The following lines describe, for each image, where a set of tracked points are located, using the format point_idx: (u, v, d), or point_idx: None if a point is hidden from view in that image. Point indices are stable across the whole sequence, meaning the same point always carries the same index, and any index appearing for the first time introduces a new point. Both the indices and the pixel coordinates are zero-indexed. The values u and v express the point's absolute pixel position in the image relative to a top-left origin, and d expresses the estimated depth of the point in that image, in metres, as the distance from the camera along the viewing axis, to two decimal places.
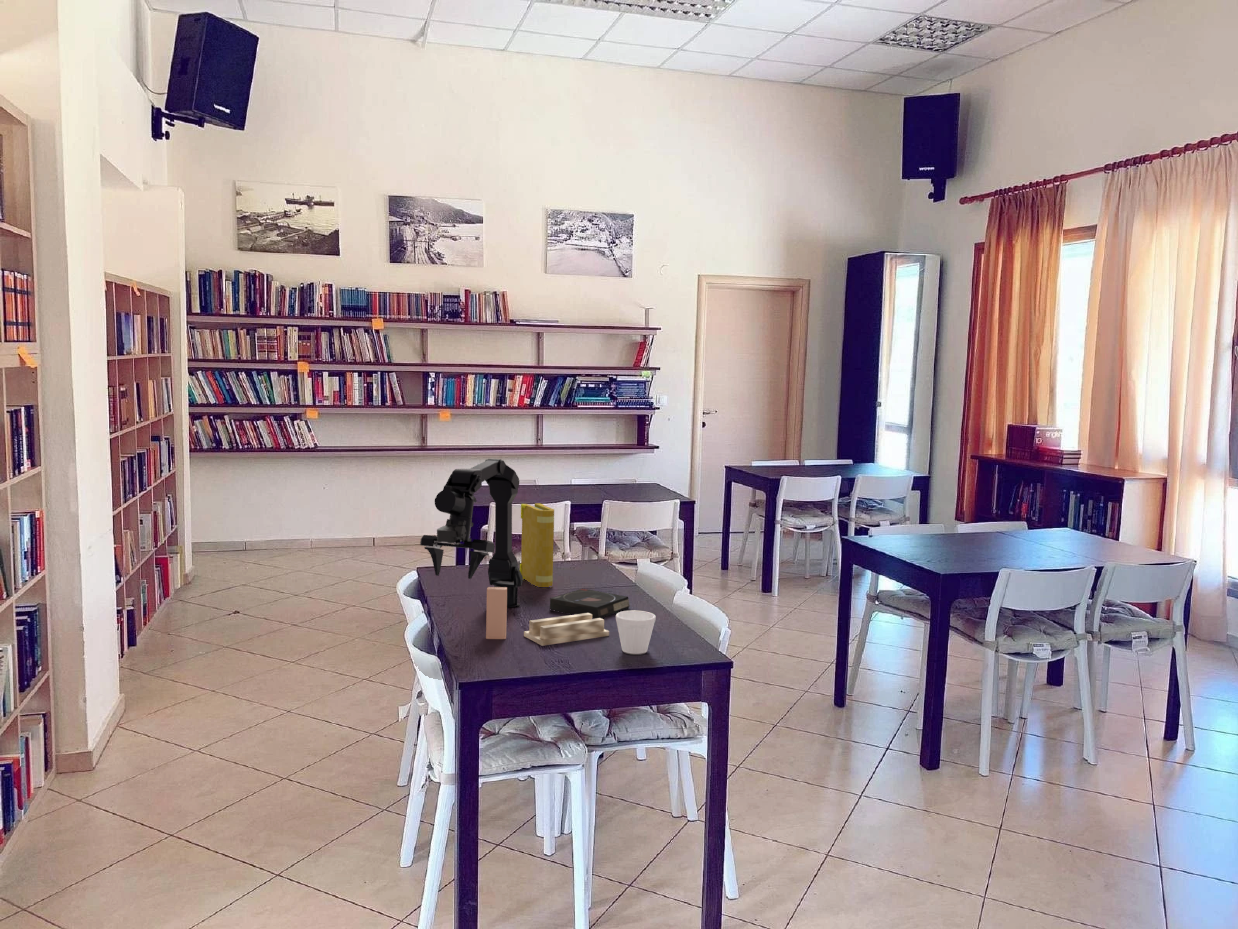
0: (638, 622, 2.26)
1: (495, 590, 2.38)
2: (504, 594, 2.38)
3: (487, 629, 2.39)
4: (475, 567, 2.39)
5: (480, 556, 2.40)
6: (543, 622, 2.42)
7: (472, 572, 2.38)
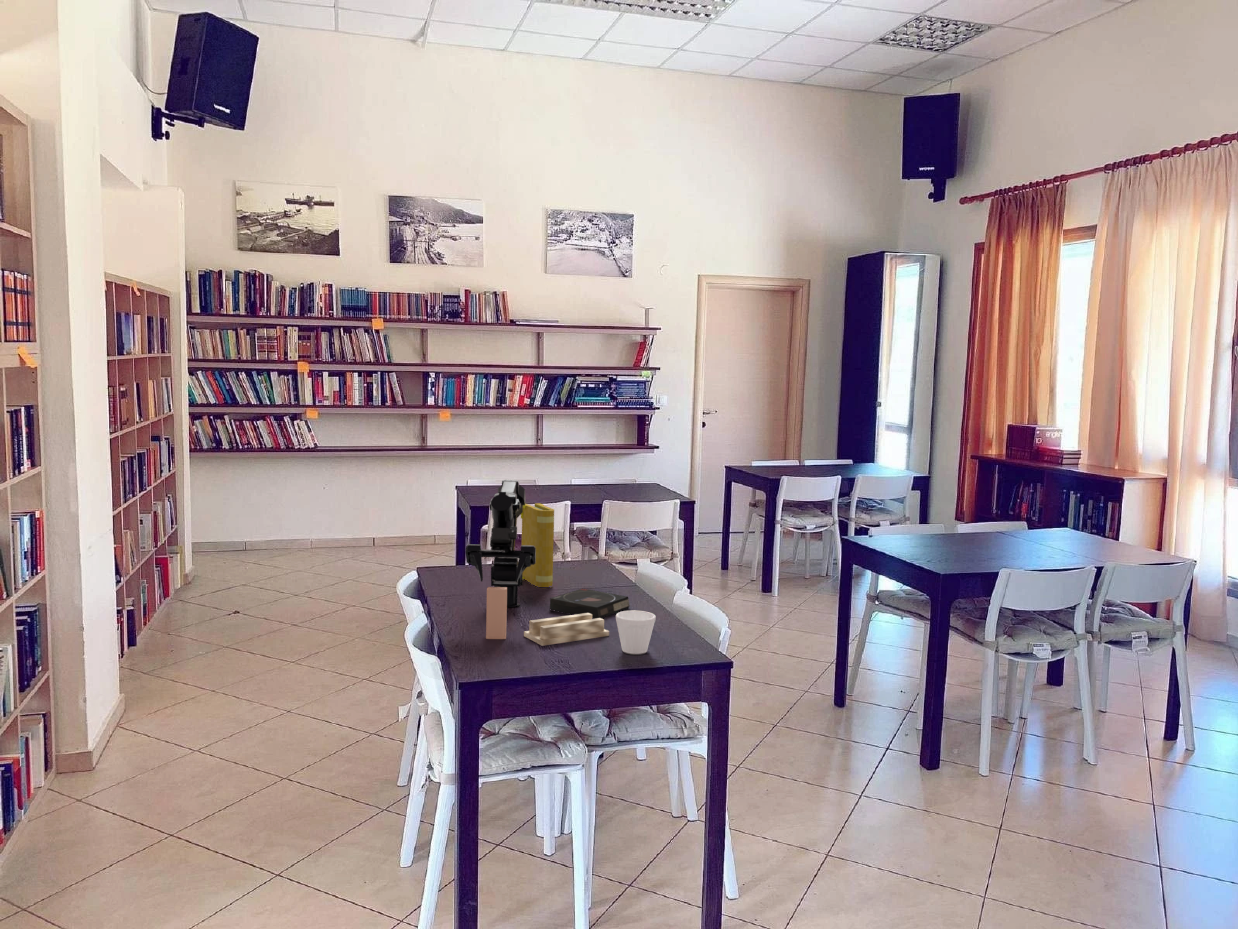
0: (638, 622, 2.26)
1: (495, 590, 2.38)
2: (504, 594, 2.38)
3: (487, 629, 2.39)
4: (521, 572, 2.49)
5: (523, 565, 2.51)
6: (543, 622, 2.42)
7: (519, 575, 2.47)
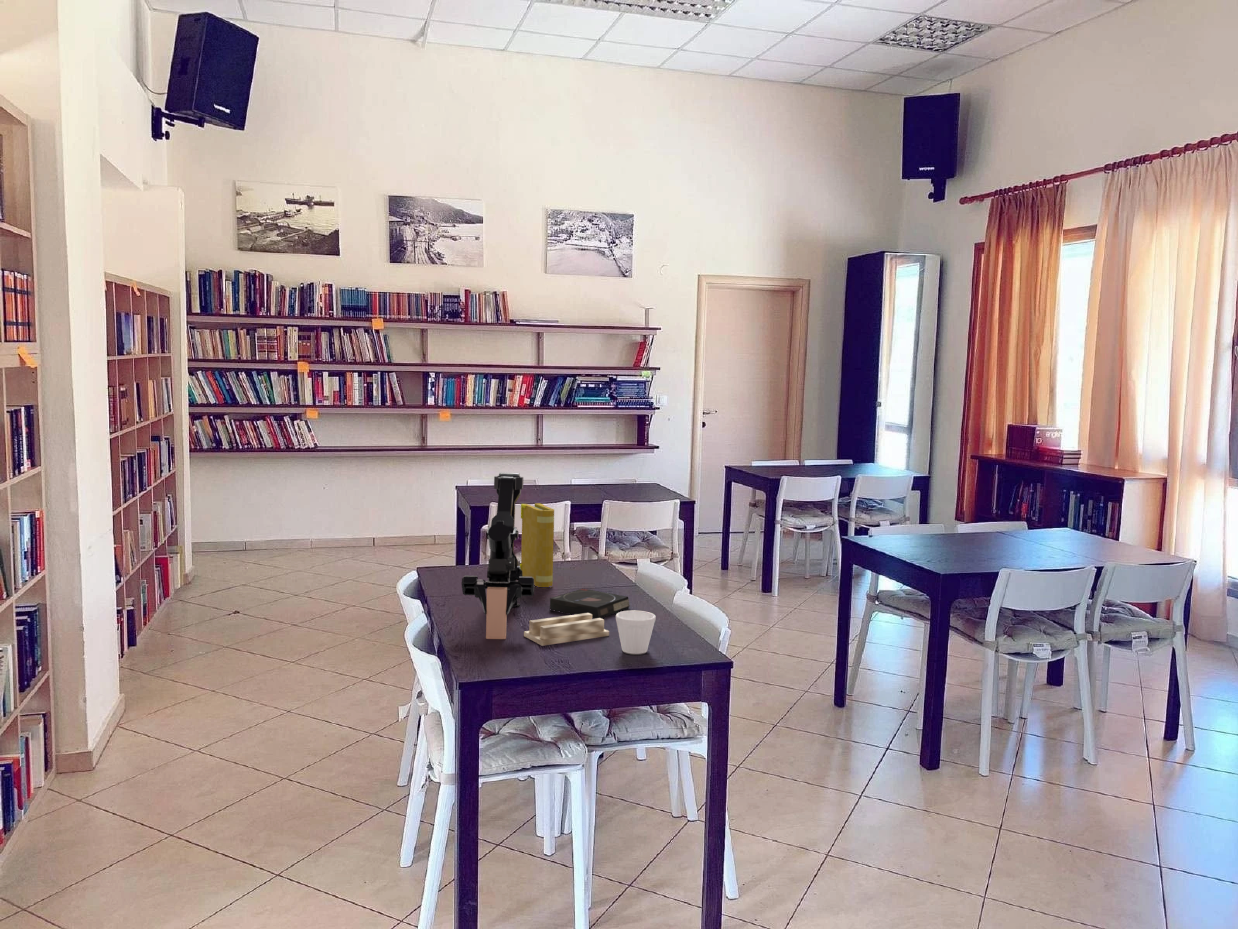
0: (638, 622, 2.26)
1: (495, 590, 2.38)
2: (504, 594, 2.38)
3: (487, 629, 2.39)
4: (511, 604, 2.41)
5: (514, 596, 2.43)
6: (543, 622, 2.42)
7: (509, 608, 2.39)
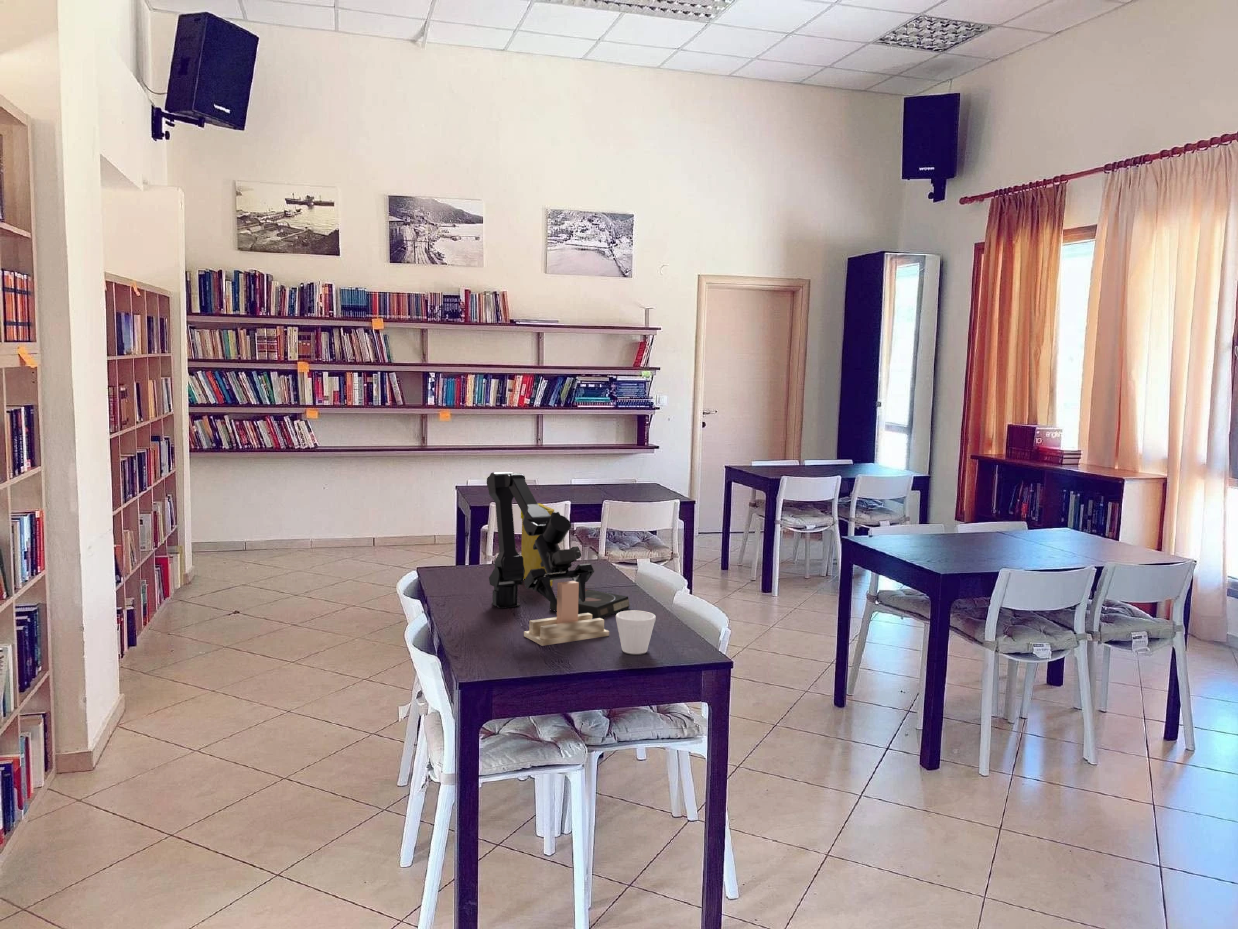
0: (638, 622, 2.26)
1: (569, 584, 2.41)
2: (577, 587, 2.43)
3: None
4: None
5: None
6: (543, 622, 2.42)
7: None
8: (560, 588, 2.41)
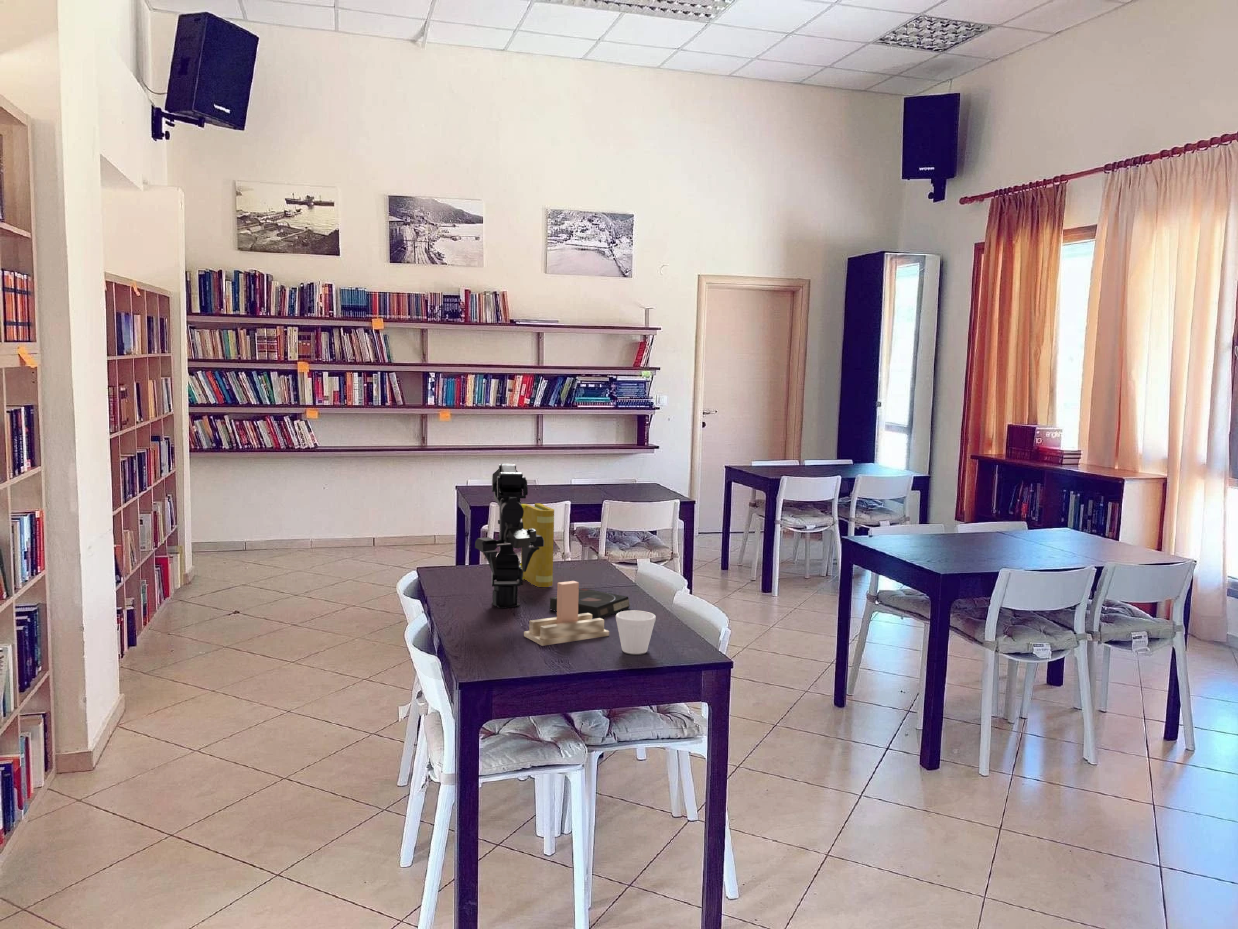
0: (638, 622, 2.26)
1: (569, 584, 2.41)
2: (577, 587, 2.43)
3: None
4: None
5: None
6: (543, 622, 2.42)
7: None
8: (560, 588, 2.41)
